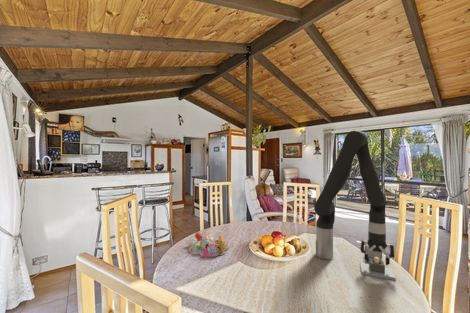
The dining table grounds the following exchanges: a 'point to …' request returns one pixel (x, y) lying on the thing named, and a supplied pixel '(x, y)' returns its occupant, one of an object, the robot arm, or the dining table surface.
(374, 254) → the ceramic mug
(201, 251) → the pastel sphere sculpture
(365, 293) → the dining table surface
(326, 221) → the robot arm
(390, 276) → the peg board
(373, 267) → the grey block
